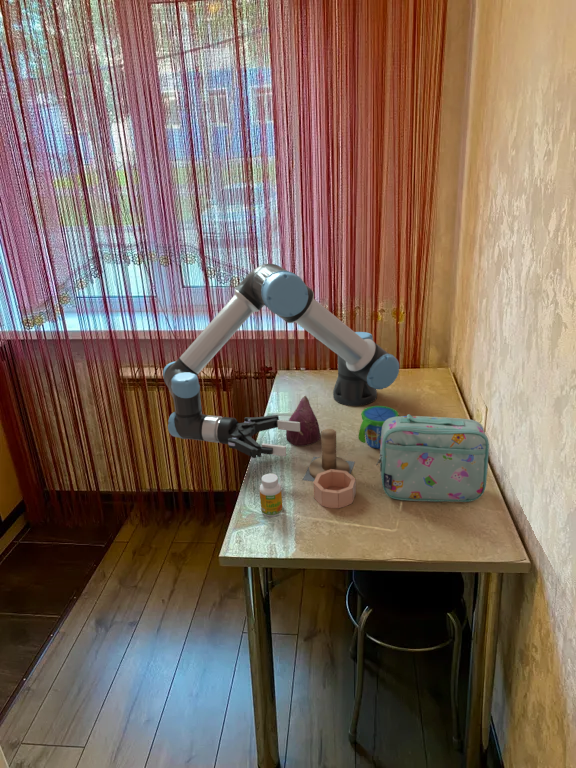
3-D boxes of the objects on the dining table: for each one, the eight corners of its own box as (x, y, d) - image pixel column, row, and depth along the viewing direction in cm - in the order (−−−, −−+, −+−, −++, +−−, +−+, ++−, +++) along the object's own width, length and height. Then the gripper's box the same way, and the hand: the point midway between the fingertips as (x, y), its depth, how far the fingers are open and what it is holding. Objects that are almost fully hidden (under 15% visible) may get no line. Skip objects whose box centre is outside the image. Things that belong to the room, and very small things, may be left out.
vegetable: (299, 437, 178) (298, 391, 176) (326, 442, 172) (326, 394, 170) (278, 444, 170) (278, 395, 167) (306, 449, 163) (306, 398, 161)
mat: (313, 457, 160) (313, 456, 160) (354, 462, 157) (354, 461, 157) (302, 481, 150) (302, 479, 150) (346, 487, 147) (346, 485, 146)
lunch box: (375, 502, 140) (377, 428, 131) (375, 479, 149) (376, 408, 140) (485, 507, 136) (495, 431, 127) (478, 483, 145) (487, 410, 137)
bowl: (320, 483, 149) (320, 467, 146) (357, 488, 146) (357, 472, 144) (310, 506, 140) (310, 489, 138) (350, 511, 137) (350, 495, 135)
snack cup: (386, 428, 174) (387, 399, 170) (410, 442, 166) (412, 412, 161) (347, 444, 166) (347, 414, 162) (370, 459, 158) (371, 428, 154)
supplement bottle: (265, 519, 136) (263, 486, 132) (258, 507, 140) (255, 475, 136) (286, 513, 138) (284, 480, 134) (277, 501, 142) (275, 469, 138)
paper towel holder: (314, 457, 160) (313, 420, 155) (352, 462, 156) (353, 424, 152) (304, 479, 150) (303, 440, 145) (344, 484, 147) (344, 445, 142)
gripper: (238, 421, 171) (305, 429, 165) (204, 464, 149) (279, 475, 143) (236, 399, 167) (304, 406, 162) (201, 439, 146) (278, 449, 140)
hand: (293, 438), depth 152 cm, fingers open, 13 cm apart
